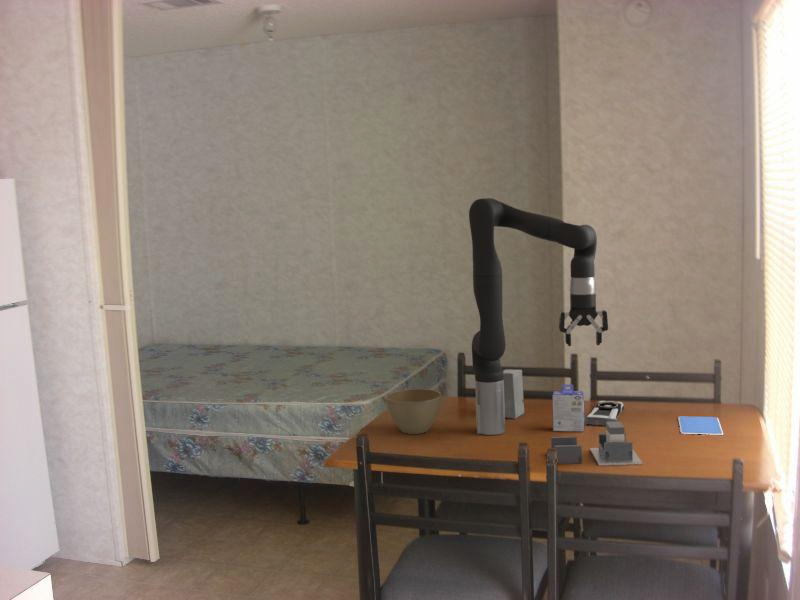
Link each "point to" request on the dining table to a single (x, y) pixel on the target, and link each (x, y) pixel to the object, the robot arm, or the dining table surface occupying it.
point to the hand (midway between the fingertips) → (583, 345)
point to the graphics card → (604, 413)
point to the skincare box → (513, 393)
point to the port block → (615, 453)
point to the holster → (567, 449)
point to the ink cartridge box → (568, 410)
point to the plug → (615, 432)
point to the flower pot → (414, 409)
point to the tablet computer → (700, 425)
